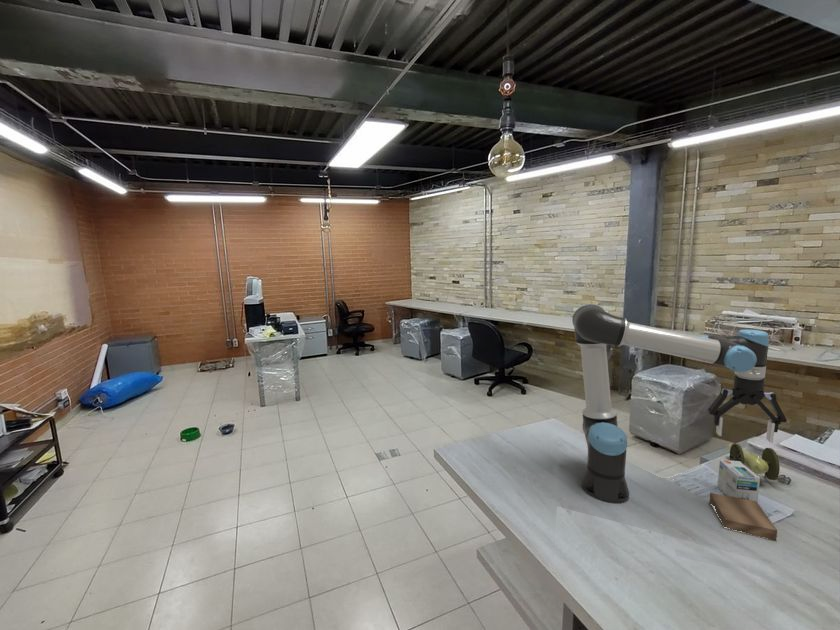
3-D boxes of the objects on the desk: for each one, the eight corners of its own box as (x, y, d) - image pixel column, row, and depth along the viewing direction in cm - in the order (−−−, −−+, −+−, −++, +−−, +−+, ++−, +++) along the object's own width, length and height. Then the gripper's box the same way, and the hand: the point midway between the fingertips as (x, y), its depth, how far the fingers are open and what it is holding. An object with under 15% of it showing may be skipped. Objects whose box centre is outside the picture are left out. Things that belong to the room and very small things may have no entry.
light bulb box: (757, 507, 122) (761, 477, 121) (734, 505, 123) (737, 475, 122) (737, 488, 132) (740, 460, 131) (716, 486, 134) (718, 458, 132)
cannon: (715, 449, 159) (717, 424, 158) (749, 454, 155) (752, 429, 153) (739, 481, 136) (742, 453, 135) (781, 488, 132) (784, 458, 130)
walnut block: (723, 534, 111) (725, 519, 110) (708, 506, 124) (710, 492, 123) (775, 546, 106) (777, 530, 106) (754, 515, 119) (756, 501, 118)
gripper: (706, 376, 123) (701, 436, 126) (806, 384, 114) (798, 448, 116) (700, 370, 130) (695, 427, 133) (793, 376, 120) (786, 438, 123)
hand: (743, 437), depth 125 cm, fingers open, 13 cm apart
